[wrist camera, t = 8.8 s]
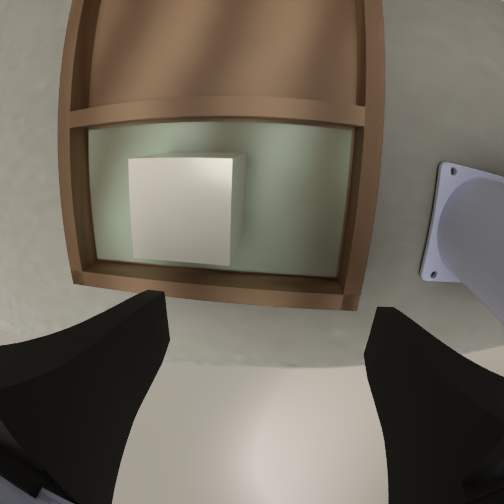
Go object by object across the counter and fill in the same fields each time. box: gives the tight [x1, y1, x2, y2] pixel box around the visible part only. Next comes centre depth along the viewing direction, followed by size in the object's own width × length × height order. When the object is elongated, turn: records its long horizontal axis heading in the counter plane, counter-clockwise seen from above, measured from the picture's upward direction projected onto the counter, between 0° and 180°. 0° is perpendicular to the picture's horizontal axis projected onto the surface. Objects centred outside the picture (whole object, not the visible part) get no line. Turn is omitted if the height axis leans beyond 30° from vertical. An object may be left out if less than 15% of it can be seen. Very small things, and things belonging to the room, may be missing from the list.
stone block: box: [128, 152, 247, 266], centre depth 14 cm, size 4×4×5 cm
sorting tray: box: [58, 0, 385, 311], centre depth 15 cm, size 18×21×3 cm
